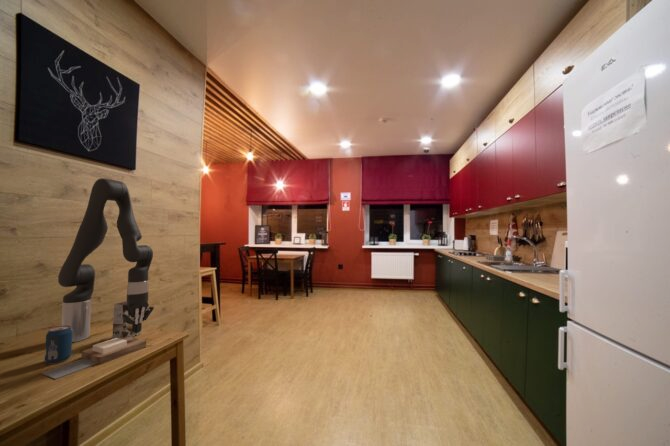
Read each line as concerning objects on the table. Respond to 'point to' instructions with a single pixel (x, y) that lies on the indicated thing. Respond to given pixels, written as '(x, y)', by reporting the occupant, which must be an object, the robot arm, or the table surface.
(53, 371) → the mat
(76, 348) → the table surface
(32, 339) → the table surface
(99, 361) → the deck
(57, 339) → the soda can
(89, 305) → the robot arm
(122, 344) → the tile
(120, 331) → the coffee box
